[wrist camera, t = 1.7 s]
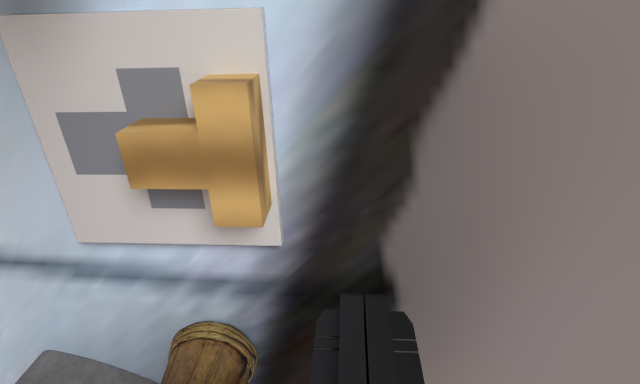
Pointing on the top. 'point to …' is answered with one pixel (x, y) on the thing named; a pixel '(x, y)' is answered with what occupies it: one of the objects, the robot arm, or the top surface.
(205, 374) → the wooden mug
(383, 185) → the top surface
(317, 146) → the top surface
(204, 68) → the t board
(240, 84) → the t block
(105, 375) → the hip flask
